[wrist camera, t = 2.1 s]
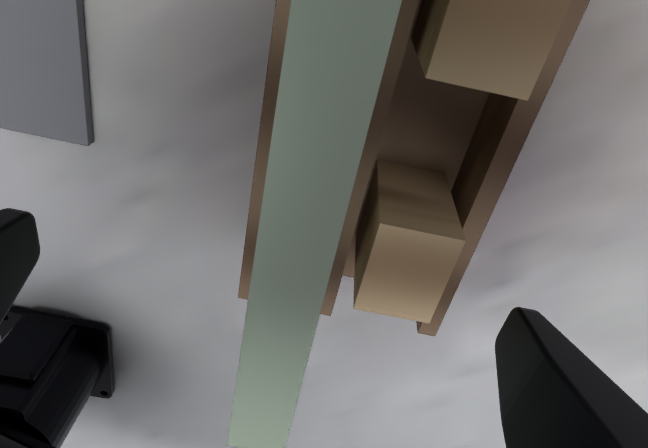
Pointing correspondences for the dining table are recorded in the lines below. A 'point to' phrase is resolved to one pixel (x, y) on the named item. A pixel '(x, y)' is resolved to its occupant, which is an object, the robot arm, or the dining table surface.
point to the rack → (419, 142)
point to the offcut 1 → (405, 242)
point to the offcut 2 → (487, 42)
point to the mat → (45, 70)
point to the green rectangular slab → (305, 200)
